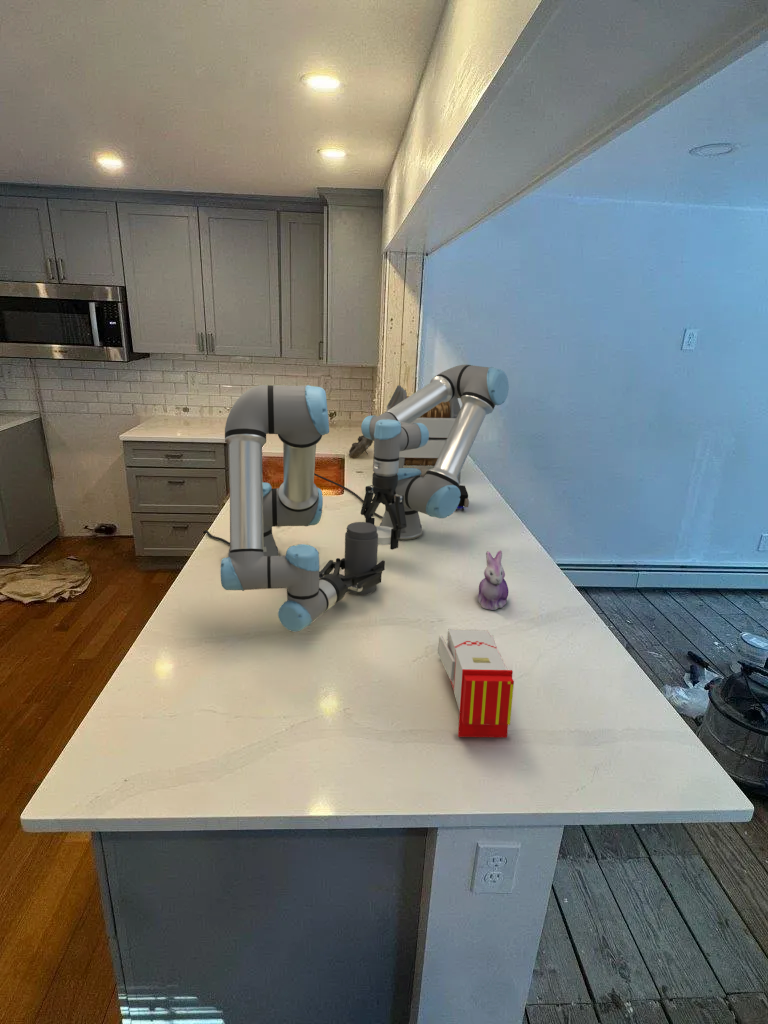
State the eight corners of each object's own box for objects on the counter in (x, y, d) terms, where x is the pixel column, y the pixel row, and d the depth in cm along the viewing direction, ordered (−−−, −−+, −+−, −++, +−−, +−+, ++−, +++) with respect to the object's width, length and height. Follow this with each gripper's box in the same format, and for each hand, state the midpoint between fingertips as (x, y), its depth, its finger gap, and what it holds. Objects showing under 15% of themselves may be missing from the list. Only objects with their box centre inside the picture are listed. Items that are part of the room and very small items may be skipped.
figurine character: (468, 516, 224) (463, 500, 237) (471, 498, 221) (465, 483, 234) (452, 515, 224) (447, 499, 237) (453, 498, 220) (449, 482, 234)
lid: (380, 547, 167) (380, 540, 166) (359, 537, 174) (359, 530, 173) (404, 540, 173) (404, 533, 173) (383, 530, 180) (383, 523, 179)
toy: (488, 613, 130) (523, 677, 101) (484, 667, 133) (517, 744, 104) (435, 612, 130) (455, 676, 101) (432, 666, 133) (451, 743, 103)
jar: (337, 586, 161) (338, 525, 155) (362, 577, 166) (364, 519, 160) (357, 598, 154) (359, 536, 148) (382, 589, 160) (385, 528, 154)
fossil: (349, 441, 314) (370, 425, 309) (359, 454, 317) (380, 439, 312) (342, 454, 295) (365, 438, 290) (354, 468, 298) (376, 453, 293)
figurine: (490, 614, 149) (496, 562, 144) (467, 597, 157) (472, 547, 152) (518, 607, 153) (525, 556, 148) (494, 591, 162) (500, 542, 156)
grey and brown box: (382, 463, 289) (386, 382, 275) (445, 464, 293) (451, 384, 279) (390, 482, 257) (394, 392, 243) (460, 483, 261) (468, 394, 247)
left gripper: (290, 595, 149) (335, 564, 168) (362, 617, 140) (402, 582, 159) (290, 569, 146) (336, 540, 165) (363, 590, 137) (403, 557, 156)
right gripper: (350, 466, 171) (348, 535, 179) (405, 484, 157) (400, 557, 164) (367, 463, 177) (365, 529, 184) (422, 479, 162) (417, 551, 170)
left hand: (368, 561), depth 162 cm, fingers closed on jar, 9 cm apart
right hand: (381, 543), depth 174 cm, fingers closed on lid, 10 cm apart
